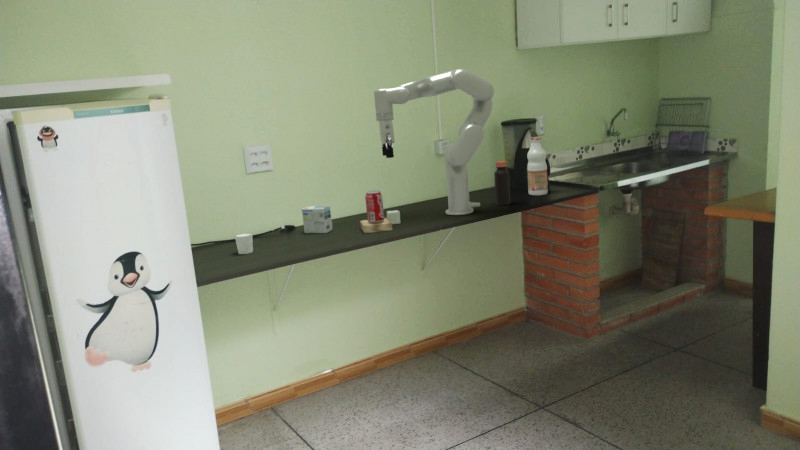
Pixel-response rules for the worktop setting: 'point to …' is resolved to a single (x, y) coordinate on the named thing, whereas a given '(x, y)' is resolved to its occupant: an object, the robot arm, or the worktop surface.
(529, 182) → the fruit juice
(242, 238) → the white cup
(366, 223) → the slab
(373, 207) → the soda can
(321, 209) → the light bulb box
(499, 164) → the bottle
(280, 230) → the worktop surface
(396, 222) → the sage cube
